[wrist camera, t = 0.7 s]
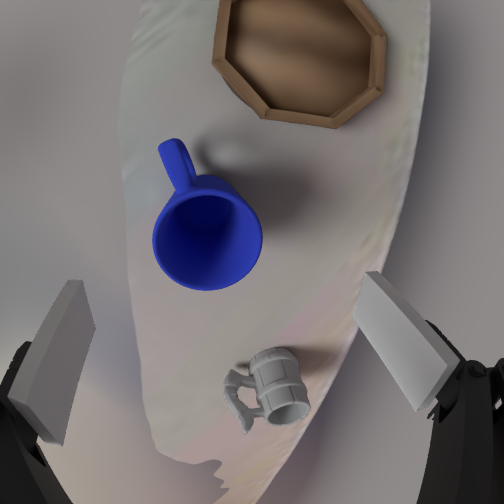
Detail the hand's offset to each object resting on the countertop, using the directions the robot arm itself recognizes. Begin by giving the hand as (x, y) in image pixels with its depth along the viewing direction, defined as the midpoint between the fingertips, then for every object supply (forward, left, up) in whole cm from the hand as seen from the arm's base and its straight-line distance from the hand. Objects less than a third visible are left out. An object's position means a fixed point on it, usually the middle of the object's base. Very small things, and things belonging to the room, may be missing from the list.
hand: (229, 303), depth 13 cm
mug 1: (0, -1, -19) cm, 19 cm away
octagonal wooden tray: (-16, +8, -19) cm, 26 cm away
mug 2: (+26, +8, -19) cm, 33 cm away
